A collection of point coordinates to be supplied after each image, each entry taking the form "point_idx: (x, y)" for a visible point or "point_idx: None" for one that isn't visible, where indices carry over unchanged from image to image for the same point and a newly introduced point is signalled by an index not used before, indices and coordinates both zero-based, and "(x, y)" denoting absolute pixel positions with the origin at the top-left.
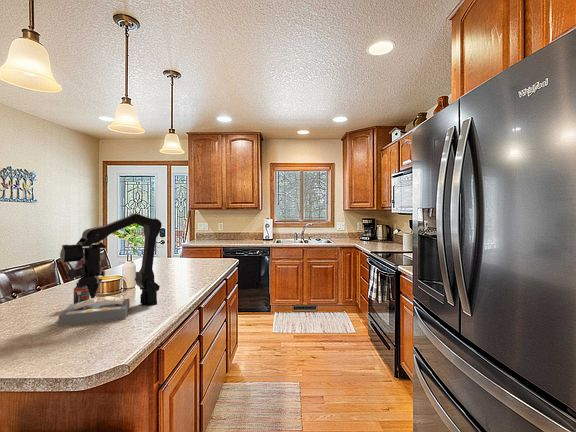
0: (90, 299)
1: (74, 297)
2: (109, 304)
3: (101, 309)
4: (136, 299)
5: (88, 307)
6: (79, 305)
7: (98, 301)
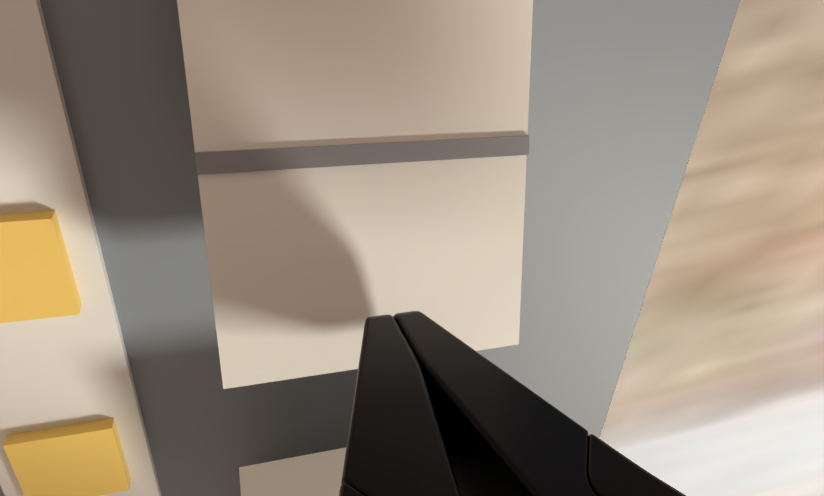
0: (451, 245)
1: None
2: None
3: (5, 444)
4: (768, 410)
5: None
6: (181, 37)
7: (668, 219)
